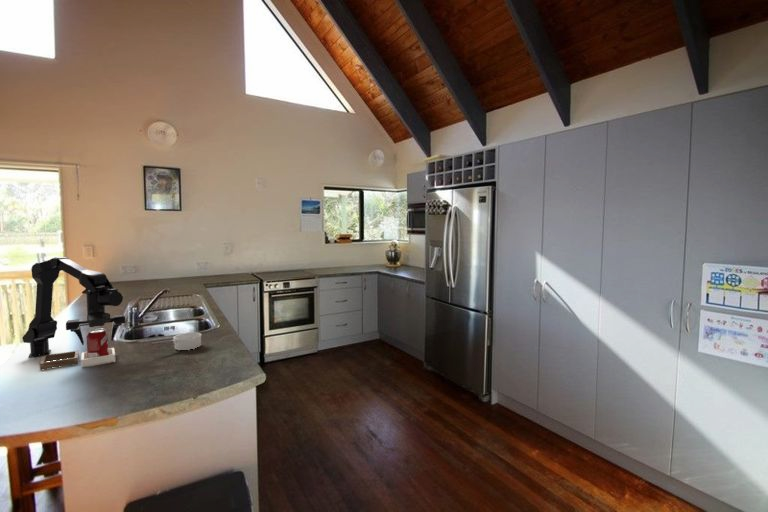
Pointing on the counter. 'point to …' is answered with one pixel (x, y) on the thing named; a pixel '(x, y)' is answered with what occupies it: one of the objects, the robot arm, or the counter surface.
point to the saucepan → (184, 341)
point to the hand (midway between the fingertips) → (97, 342)
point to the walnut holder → (57, 357)
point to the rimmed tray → (98, 359)
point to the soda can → (97, 343)
